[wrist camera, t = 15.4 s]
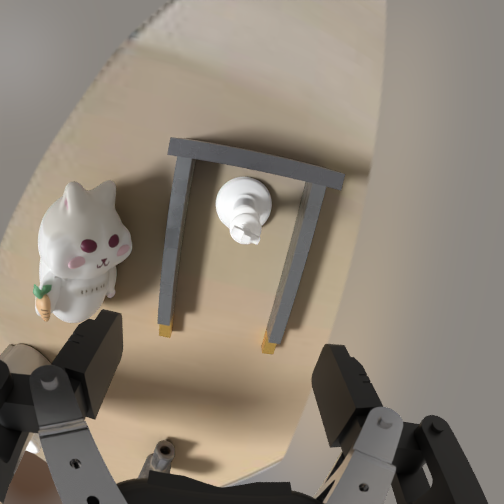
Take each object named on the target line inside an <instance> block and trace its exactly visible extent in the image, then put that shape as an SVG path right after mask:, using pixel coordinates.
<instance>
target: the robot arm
mask: <svg viewBox="0 0 504 504" xmlns="http://www.w3.org/2000/svg"><path fill="white" fill-rule="evenodd" d="M122 352H123V330H122V315H121V313H117V312H113V311H109V310H104V309H103V310H101V312H100V313H99V315H98V316H97V317H96V319H95V320H92V319H87V320H86V321H84V322H82V323H81V324H79V325H78V327H77V328H76V329H75V331H74V332H73V335H71V336H70V338H69V339H68V341H67V342H66V343H65V345H64V346H63V348H62V349H61V351H60V352H59V354H58V355H57V356H56V358H55V359H54V361H53V362H52V364H51V363H50V362H49V361H48V360H47V359H46V358H45V357H44V356H43V355H42V354H41V353H39V352H38V351H37V350H35V349H34V348H32V347H30V346H27V345H24V344H17V345H15V346H12V345H9V346H8V347H7V348H6V349H5V350H4V351H3V353H2V354H1V355H0V504H3V503H4V499H5V496H6V493H7V490H8V487H9V484H10V483H11V480H12V478H13V476H14V473H15V471H16V469H17V467H18V465H19V463H20V460H21V458H22V456H23V454H24V452H25V450H26V448H27V446H28V444H29V442H30V440H31V438H32V436H33V434H34V433H38V434H39V438H40V442H41V445H42V448H43V452H44V455H45V458H46V461H47V464H48V467H49V470H50V472H51V475H52V478H53V480H54V483H55V486H56V488H57V490H58V493H59V495H60V498H61V500H62V502H63V504H383V503H384V501H385V498H386V496H387V493H388V491H389V488H390V485H392V488H393V492H394V495H395V498H396V501H397V504H488V502H487V500H486V498H485V496H484V493H483V491H482V489H481V487H480V485H479V483H478V480H477V478H476V476H475V474H474V472H473V470H472V468H471V466H470V464H469V462H468V460H467V458H466V456H465V454H464V452H463V451H462V449H461V447H460V445H459V443H458V441H457V439H456V437H455V435H454V433H453V432H452V430H451V428H450V426H449V425H448V423H447V422H446V421H445V420H443V419H442V418H440V417H438V416H434V415H430V416H426V417H425V418H424V419H423V420H422V421H421V423H420V424H414V423H408V422H403V421H402V419H401V417H400V416H399V414H398V413H396V412H395V411H394V410H392V409H390V408H386V407H383V405H382V403H381V401H380V399H379V397H378V395H377V393H376V391H375V389H374V387H373V385H372V383H370V380H369V377H368V376H367V374H366V372H365V370H364V368H363V366H362V365H361V364H360V363H359V362H358V361H357V360H356V359H355V358H354V357H350V355H349V353H348V351H347V349H346V347H345V346H344V345H333V344H325V345H324V347H323V349H322V351H321V354H320V356H319V359H318V361H317V364H316V366H315V368H314V371H313V374H312V388H313V391H314V394H315V398H316V401H317V404H318V408H319V411H320V415H321V418H322V421H323V425H324V428H325V432H326V435H327V439H328V442H329V446H330V447H341V449H342V452H341V454H340V455H339V457H338V458H337V460H336V462H335V464H334V465H333V467H332V469H331V470H330V472H329V474H328V476H327V477H326V479H325V480H324V482H323V484H322V485H321V487H320V488H319V490H318V491H317V492H316V494H315V495H314V496H313V497H311V496H308V495H306V494H303V493H300V492H296V491H292V490H291V485H290V482H256V483H250V484H245V485H239V486H232V487H224V488H221V487H216V486H213V485H210V484H206V483H203V482H200V481H197V480H194V479H191V478H188V477H186V476H181V475H174V474H169V473H163V472H158V471H153V470H149V476H148V478H137V479H131V480H126V481H123V482H120V483H117V484H116V483H115V481H114V479H113V478H112V476H111V474H110V472H109V470H108V468H107V466H106V464H105V462H104V460H103V458H102V456H101V454H100V452H99V450H98V448H97V446H96V444H95V442H94V439H93V437H92V435H91V433H90V430H89V428H88V426H87V423H86V421H84V420H85V417H89V418H92V419H96V416H97V414H98V411H99V409H100V406H101V404H102V402H103V399H104V397H105V394H106V392H107V390H108V387H109V385H110V383H111V380H112V378H113V376H114V373H115V371H116V369H117V366H118V364H119V362H120V360H121V357H122ZM425 463H427V466H428V468H429V471H430V473H431V475H432V478H433V483H432V487H431V488H430V486H429V483H428V481H427V478H426V475H425V473H424V470H423V468H422V466H423V465H424V464H425Z"/></svg>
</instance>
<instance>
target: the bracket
mask: <svg viewBox="0 0 504 504" xmlns="http://www.w3.org/2000/svg"><path fill="white" fill-rule="evenodd" d="M167 155H173V156H177V161H176V167H175V172H174V179H173V185H172V191H171V198H170V205H169V212H168V219H167V227H166V235H165V243H164V252H163V262H162V272H161V283H160V295H159V308H158V324H160V328H159V336H163V337H168V338H170V337H171V333H172V328H173V317H174V307H175V297H176V288H177V279H178V271H179V263H180V255H181V248H182V241H183V233H184V227H185V220H186V213H187V207H188V201H189V195H190V189H191V183H192V177H193V172H194V166H195V161H196V159H198V160H204V161H210V162H216V163H221V164H227V165H232V166H237V167H242V168H247V169H252V170H257V171H262V172H266V173H271V174H276V175H280V176H285V177H289V178H293V179H297V180H302V181H306V183H305V187H304V191H303V195H302V199H301V203H300V207H299V211H298V215H297V219H296V223H295V227H294V231H293V234H292V238H291V242H290V246H289V250H288V253H287V257H286V261H285V265H284V268H283V272H282V276H281V279H280V283H279V287H278V290H277V294H276V297H275V301H274V304H273V308H272V312H271V315H270V319H269V322H268V325H267V329H266V332H265V336H264V339H263V343H262V346H261V347H262V353H265V354H273V353H274V350H275V347H276V344H280V343H281V340H282V337H283V334H284V331H285V328H286V325H287V321H288V318H289V315H290V312H291V309H292V306H293V303H294V299H295V296H296V293H297V290H298V286H299V283H300V280H301V276H302V273H303V270H304V266H305V263H306V259H307V256H308V252H309V249H310V245H311V242H312V238H313V235H314V231H315V227H316V224H317V220H318V216H319V213H320V209H321V205H322V201H323V198H324V194H325V190H326V187H330V188H334V189H337V190H341V189H342V185H343V181H344V177H345V174H343V173H340V172H337V171H334V170H331V169H328V168H325V167H321V166H317V165H314V164H310V163H306V162H302V161H298V160H294V159H289V158H285V157H281V156H276V155H272V154H267V153H263V152H258V151H253V150H248V149H244V148H238V147H233V146H228V145H222V144H217V143H211V142H205V141H199V140H193V139H186V138H172V137H171V138H170V143H169V148H168V154H167Z"/></svg>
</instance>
